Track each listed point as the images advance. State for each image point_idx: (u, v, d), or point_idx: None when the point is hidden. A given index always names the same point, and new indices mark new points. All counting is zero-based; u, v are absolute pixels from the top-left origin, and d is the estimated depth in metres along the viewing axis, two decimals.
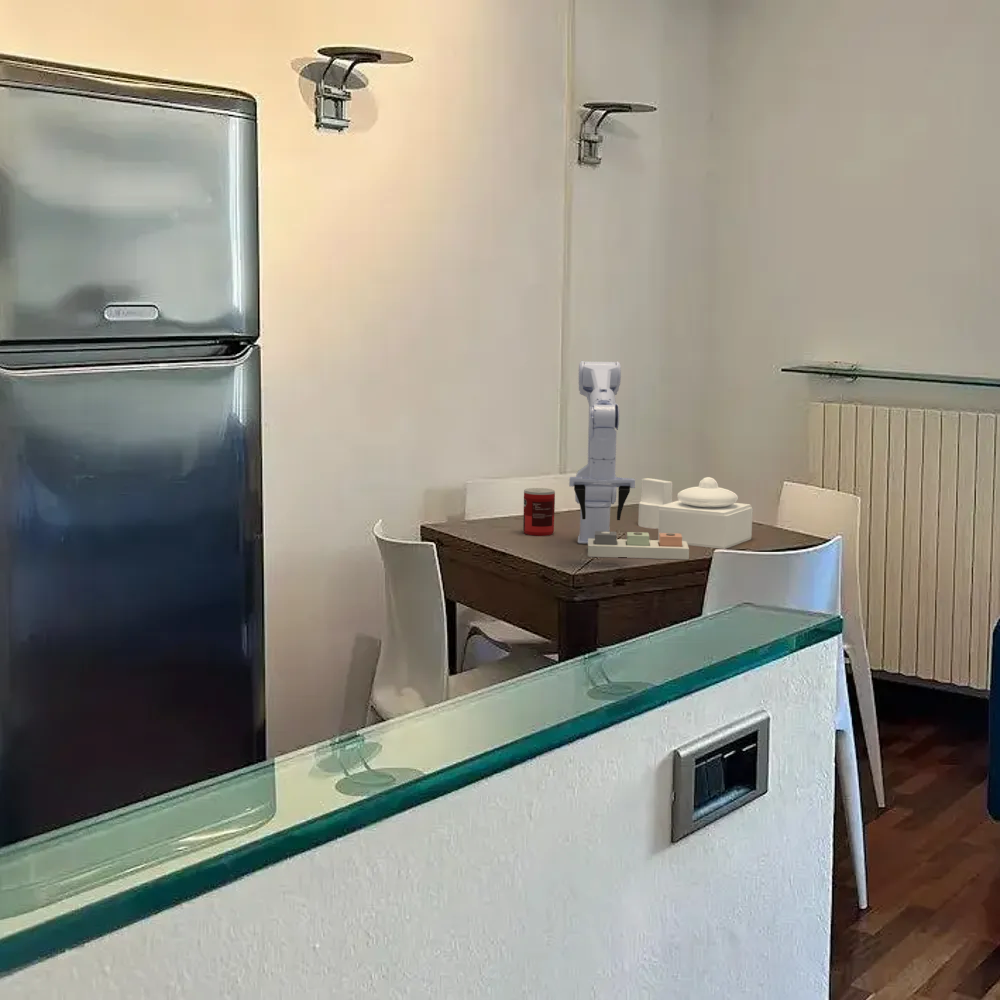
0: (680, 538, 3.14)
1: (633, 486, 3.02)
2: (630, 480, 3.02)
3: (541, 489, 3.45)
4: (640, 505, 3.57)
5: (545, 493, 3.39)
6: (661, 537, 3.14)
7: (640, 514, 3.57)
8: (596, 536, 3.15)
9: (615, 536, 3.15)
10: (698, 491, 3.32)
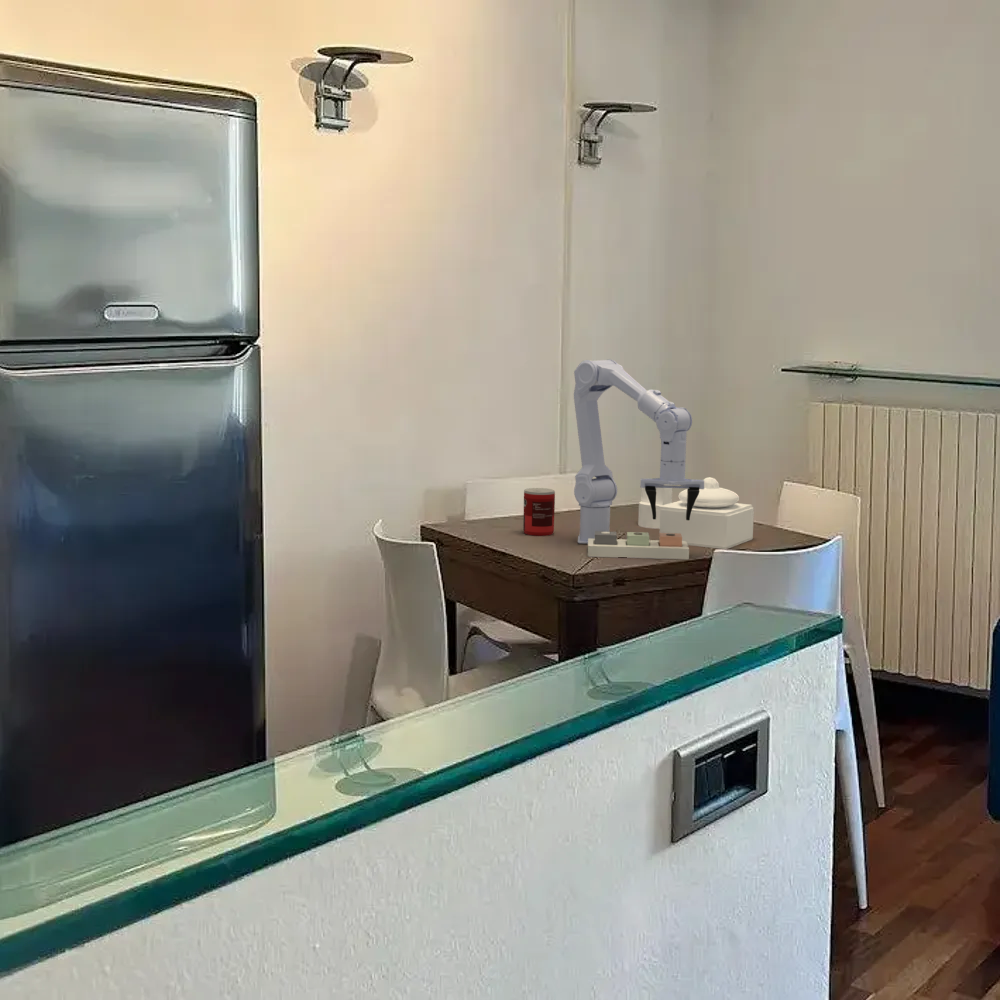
0: (680, 538, 3.14)
1: (702, 487, 3.13)
2: (699, 481, 3.13)
3: (541, 489, 3.45)
4: (640, 505, 3.57)
5: (545, 493, 3.39)
6: (661, 537, 3.14)
7: (640, 514, 3.57)
8: (596, 536, 3.15)
9: (615, 536, 3.15)
10: (699, 491, 3.32)
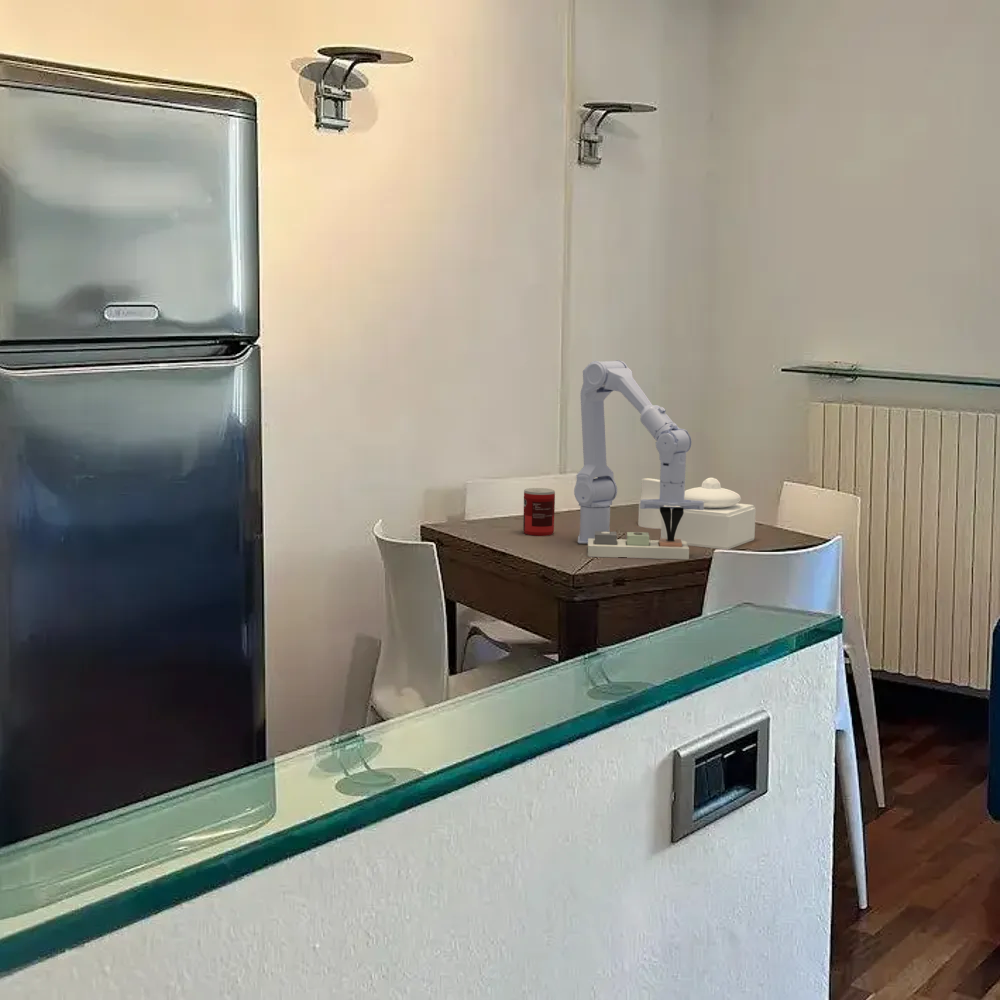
0: (680, 544, 3.14)
1: (702, 508, 3.14)
2: (699, 503, 3.14)
3: (541, 489, 3.45)
4: None
5: (545, 493, 3.39)
6: (661, 543, 3.14)
7: (640, 514, 3.57)
8: (596, 536, 3.15)
9: (615, 536, 3.15)
10: (701, 492, 3.32)
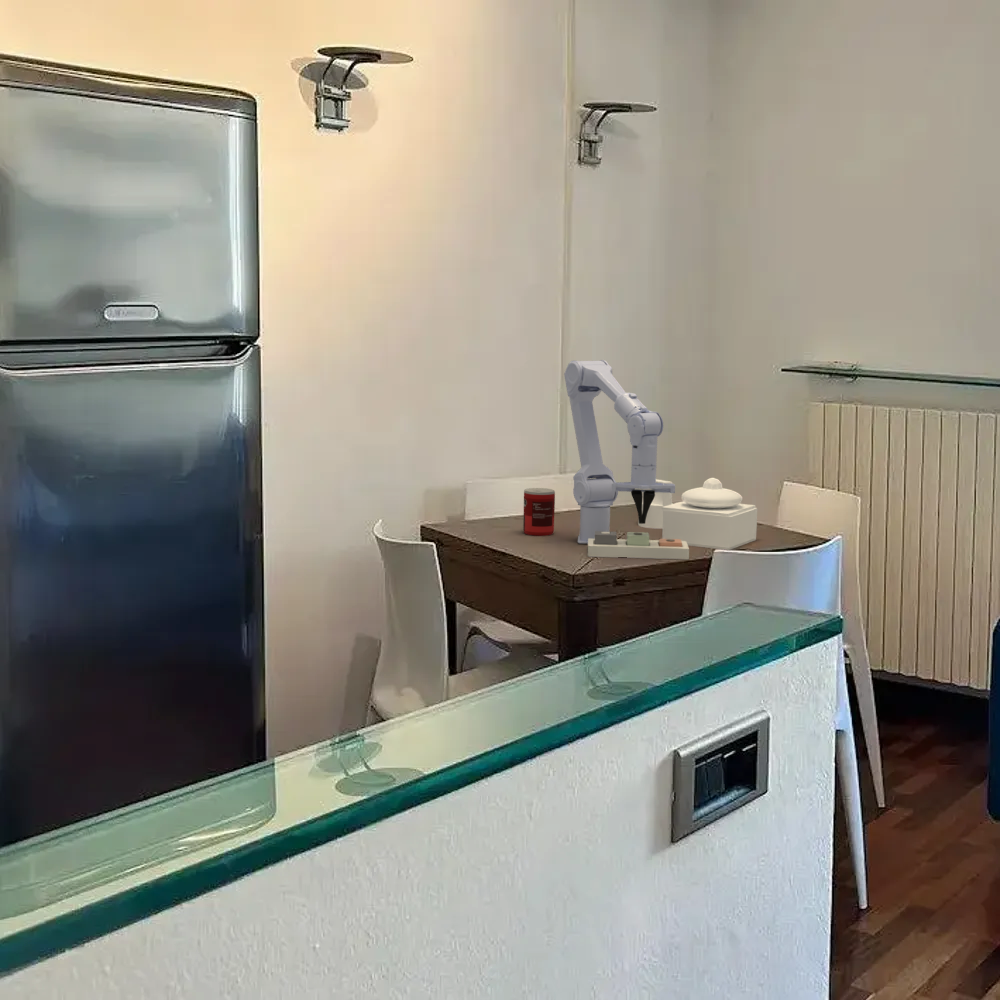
0: (680, 544, 3.14)
1: (673, 491, 3.14)
2: (670, 485, 3.14)
3: (541, 489, 3.45)
4: None
5: (545, 493, 3.39)
6: (661, 543, 3.14)
7: None
8: (596, 536, 3.15)
9: (615, 536, 3.15)
10: (702, 492, 3.31)
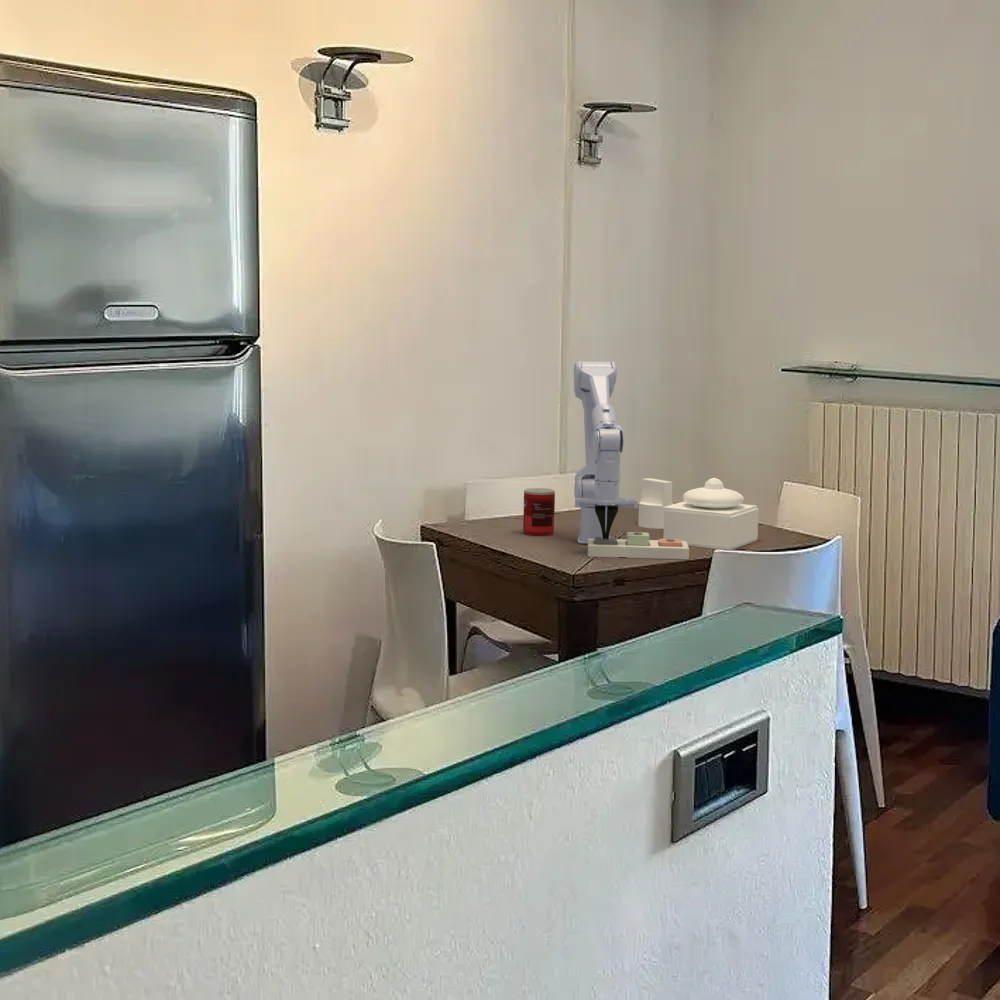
0: (680, 544, 3.14)
1: (636, 507, 3.15)
2: (633, 501, 3.15)
3: (541, 489, 3.45)
4: (640, 505, 3.57)
5: (545, 493, 3.39)
6: (661, 543, 3.14)
7: (640, 514, 3.57)
8: (596, 542, 3.15)
9: (615, 542, 3.15)
10: (703, 492, 3.31)
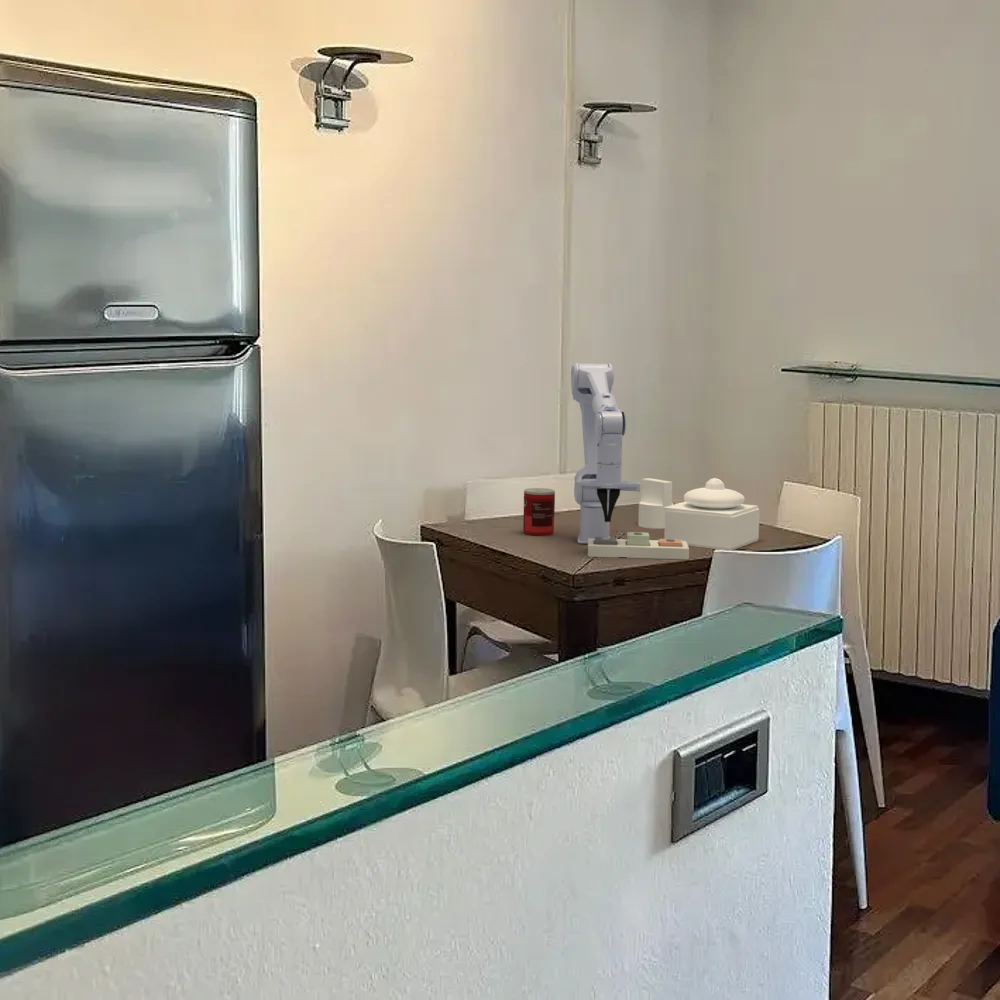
0: (680, 544, 3.14)
1: (638, 490, 3.15)
2: (635, 484, 3.14)
3: (541, 489, 3.45)
4: (640, 505, 3.57)
5: (545, 493, 3.39)
6: (661, 543, 3.14)
7: (640, 514, 3.57)
8: (596, 542, 3.15)
9: (615, 542, 3.15)
10: (704, 492, 3.31)
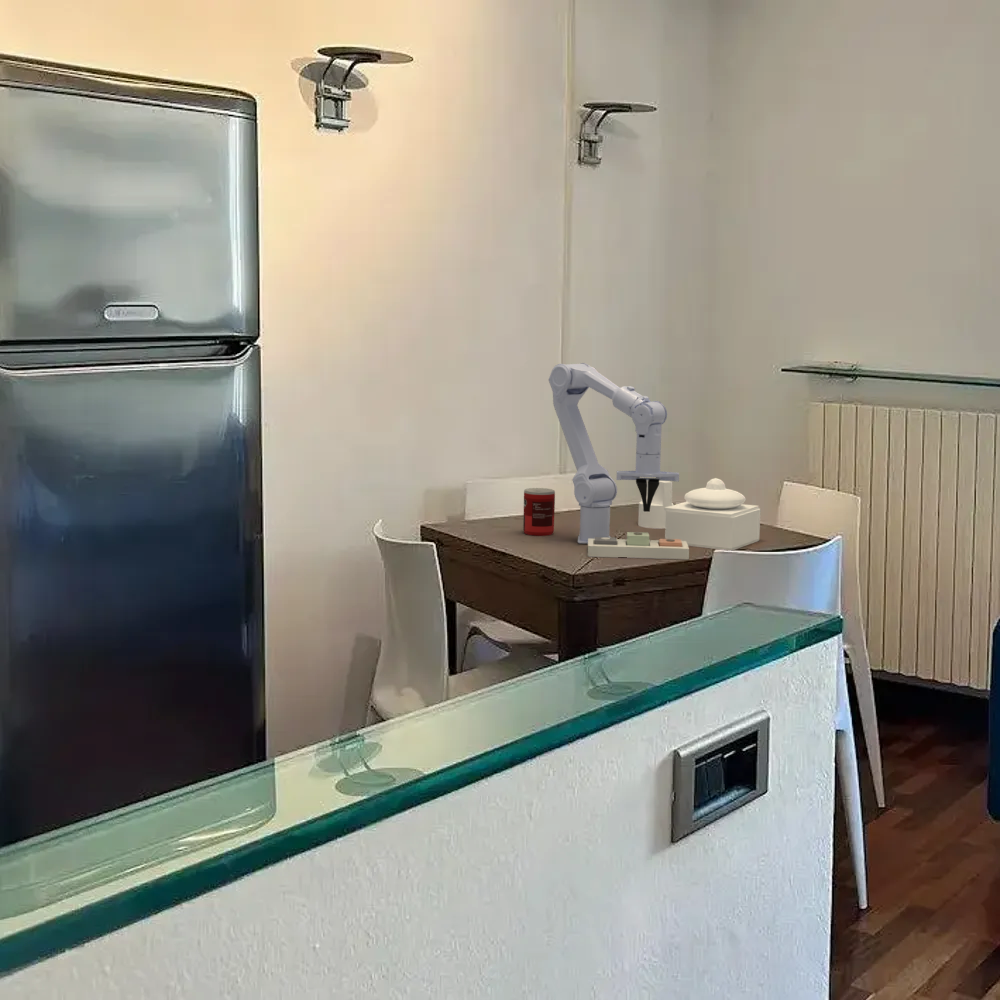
0: (680, 544, 3.14)
1: (677, 480, 3.19)
2: (674, 474, 3.18)
3: (541, 489, 3.45)
4: (640, 505, 3.57)
5: (545, 493, 3.39)
6: (661, 543, 3.14)
7: (640, 514, 3.57)
8: (596, 542, 3.15)
9: (615, 542, 3.15)
10: (705, 492, 3.30)
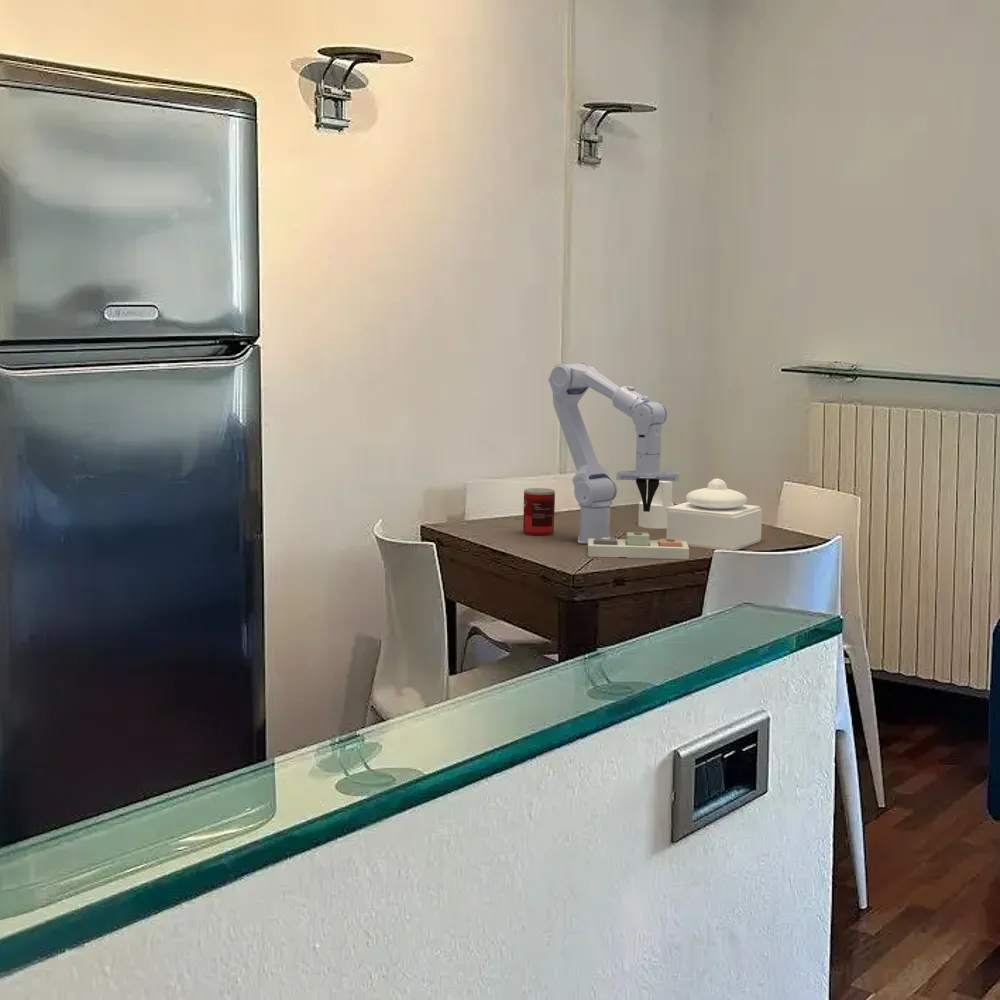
0: (680, 544, 3.14)
1: (677, 480, 3.19)
2: (674, 474, 3.18)
3: (541, 489, 3.45)
4: (640, 505, 3.57)
5: (545, 493, 3.39)
6: (661, 543, 3.14)
7: (640, 514, 3.57)
8: (596, 542, 3.15)
9: (615, 542, 3.15)
10: (706, 493, 3.30)
